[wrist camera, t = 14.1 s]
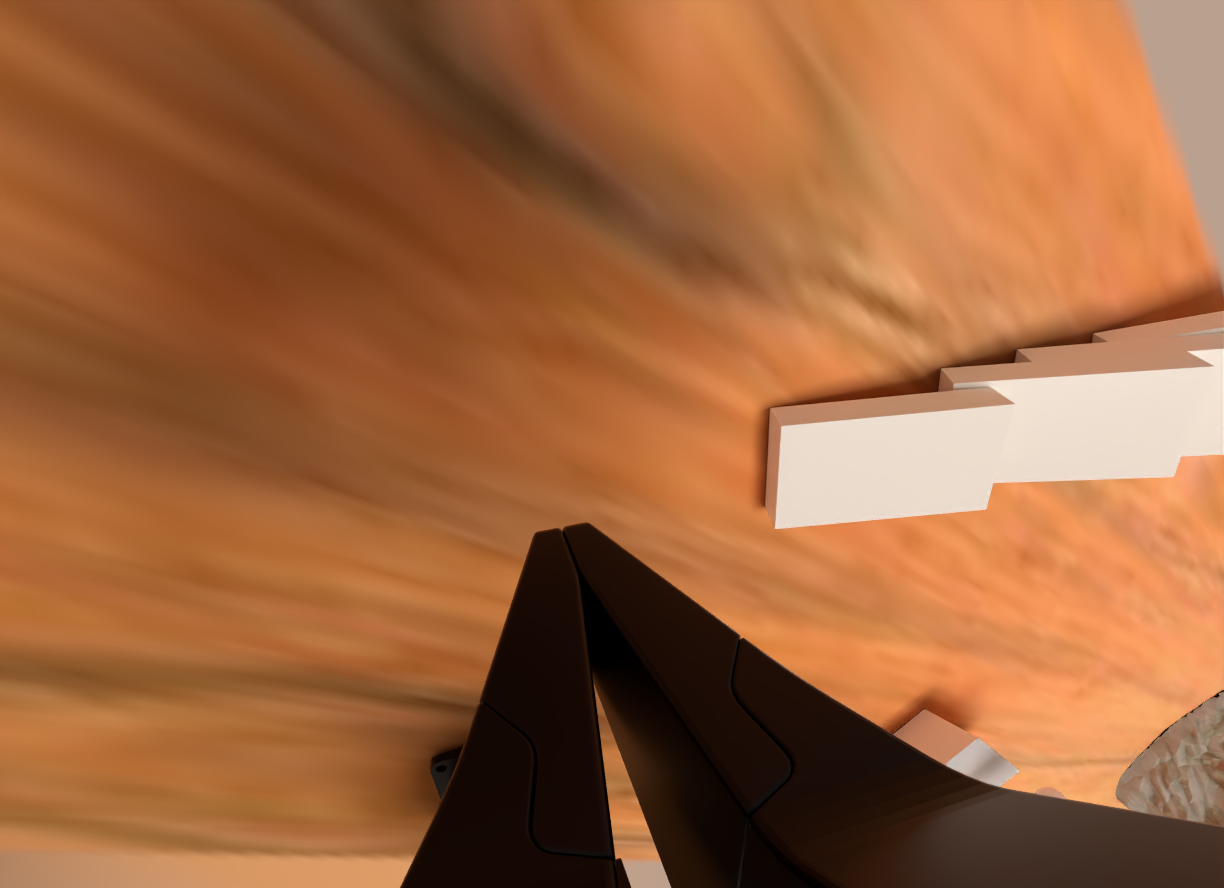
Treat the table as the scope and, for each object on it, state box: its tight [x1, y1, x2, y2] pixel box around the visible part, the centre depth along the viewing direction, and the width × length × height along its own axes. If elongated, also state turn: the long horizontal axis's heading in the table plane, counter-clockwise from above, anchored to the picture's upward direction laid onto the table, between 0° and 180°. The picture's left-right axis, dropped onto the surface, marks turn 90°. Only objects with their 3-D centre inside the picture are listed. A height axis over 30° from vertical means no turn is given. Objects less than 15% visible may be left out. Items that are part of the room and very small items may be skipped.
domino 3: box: [1092, 311, 1224, 343], centre depth 26 cm, size 5×2×9 cm
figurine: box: [893, 709, 1067, 799], centre depth 33 cm, size 7×9×15 cm
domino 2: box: [938, 351, 1215, 483], centre depth 25 cm, size 5×2×9 cm
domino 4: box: [1015, 333, 1224, 456], centre depth 26 cm, size 5×2×9 cm
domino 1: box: [765, 387, 1015, 529], centre depth 25 cm, size 5×2×9 cm
